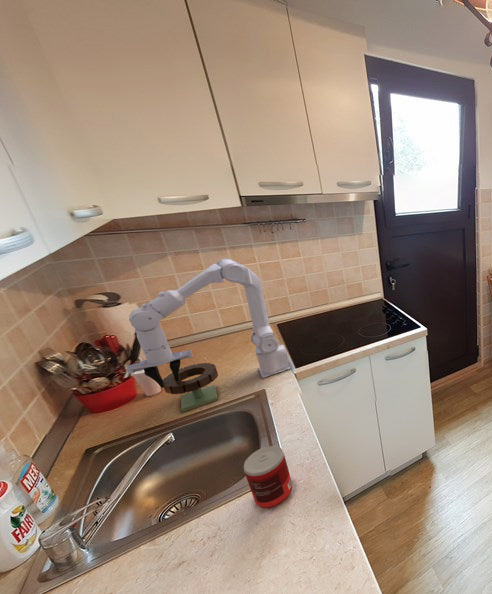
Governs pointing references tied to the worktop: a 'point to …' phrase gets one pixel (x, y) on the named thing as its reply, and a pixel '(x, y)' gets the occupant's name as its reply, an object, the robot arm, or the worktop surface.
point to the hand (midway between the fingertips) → (170, 384)
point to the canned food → (268, 476)
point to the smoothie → (146, 382)
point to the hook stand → (198, 398)
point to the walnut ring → (178, 387)
